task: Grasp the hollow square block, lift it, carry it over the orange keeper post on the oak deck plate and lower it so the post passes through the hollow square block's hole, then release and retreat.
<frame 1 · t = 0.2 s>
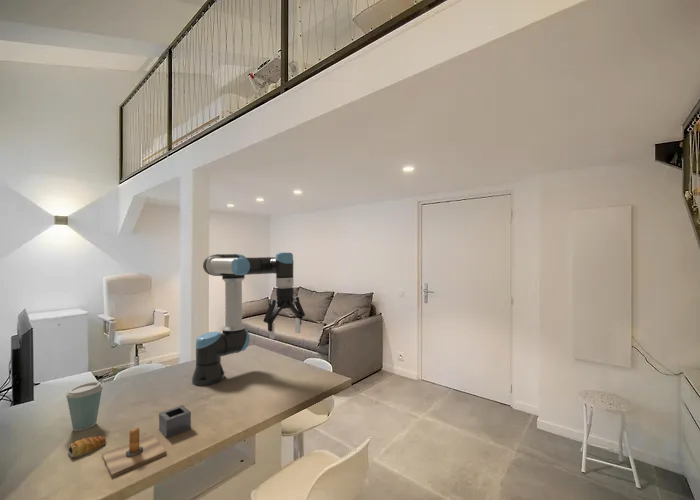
hand: (285, 335, 136), 28 cm above the table, fingers open, 13 cm apart
pastry: (85, 451, 101), on the table
disposable coffee cup: (84, 427, 115), on the table
hollow square block: (175, 429, 113), on the table
keeper: (134, 455, 98), on the table
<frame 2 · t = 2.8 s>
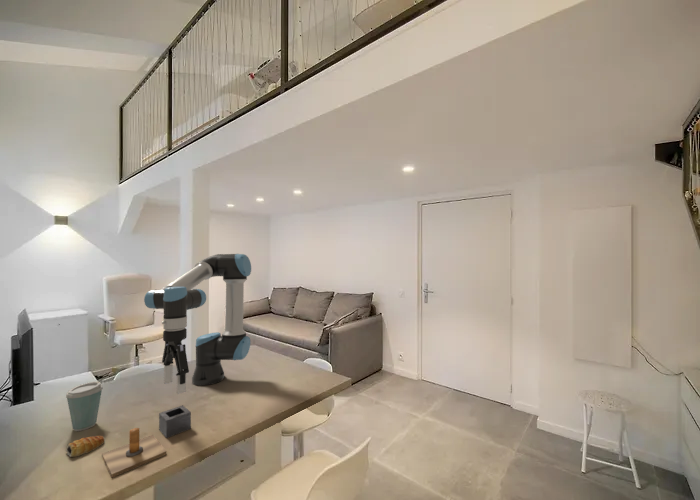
hand: (174, 387, 113), 15 cm above the table, fingers open, 13 cm apart
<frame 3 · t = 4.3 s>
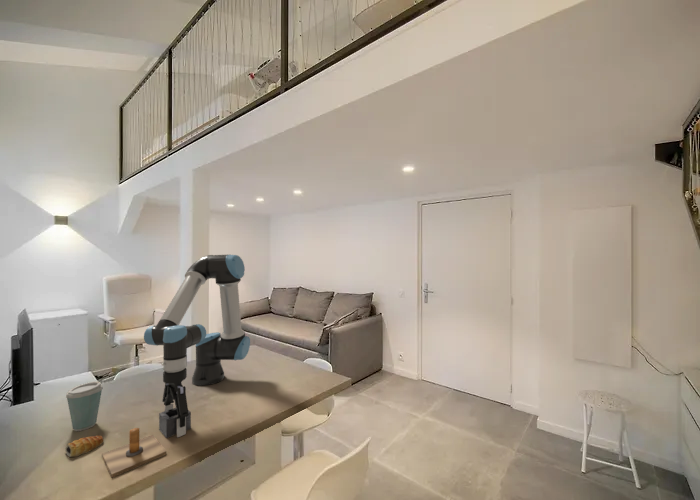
hand: (174, 428, 113), 0 cm above the table, fingers open, 12 cm apart
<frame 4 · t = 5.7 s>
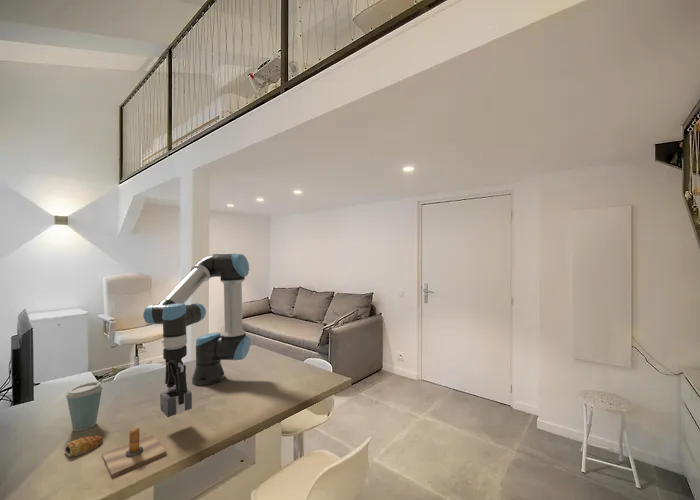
hand: (176, 408, 113), 7 cm above the table, fingers closed on hollow square block, 8 cm apart
hollow square block: (176, 409, 113), point 7 cm above the table, touching gripper
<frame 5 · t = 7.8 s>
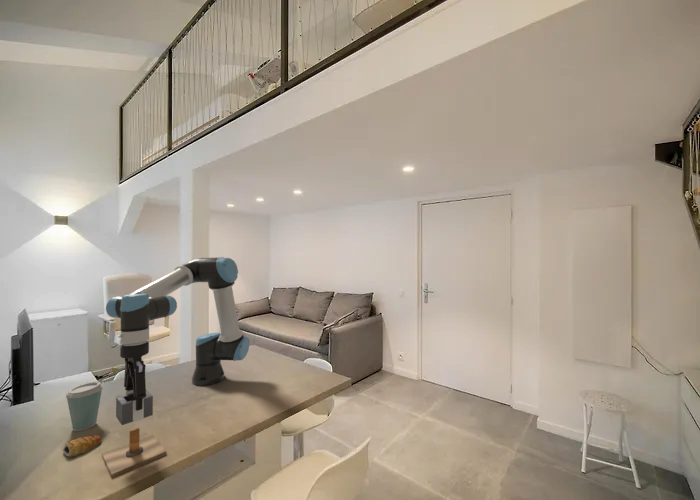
hand: (134, 414, 98), 13 cm above the table, fingers closed on hollow square block, 8 cm apart
hollow square block: (134, 415, 98), point 12 cm above the table, touching gripper
when the fingers open (2 cm above the table, at t = 10.0 s): hollow square block stays where it is, resting on keeper.
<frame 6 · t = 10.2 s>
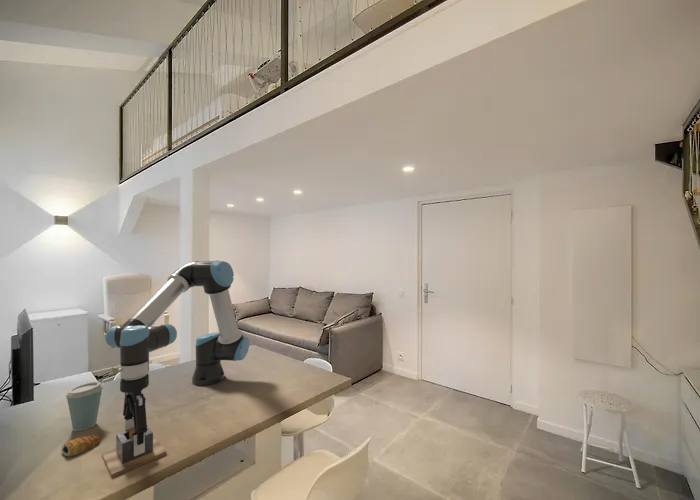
hand: (134, 446, 98), 3 cm above the table, fingers open, 10 cm apart
hollow square block: (134, 452, 98), point 1 cm above the table, touching keeper
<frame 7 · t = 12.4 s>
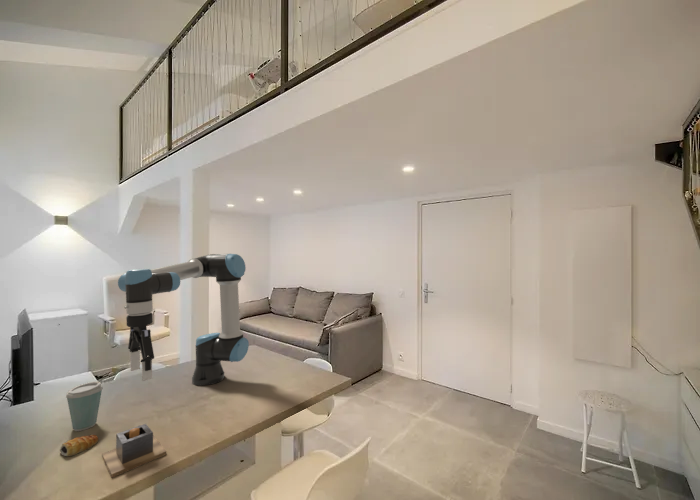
hand: (141, 374, 107), 22 cm above the table, fingers open, 13 cm apart
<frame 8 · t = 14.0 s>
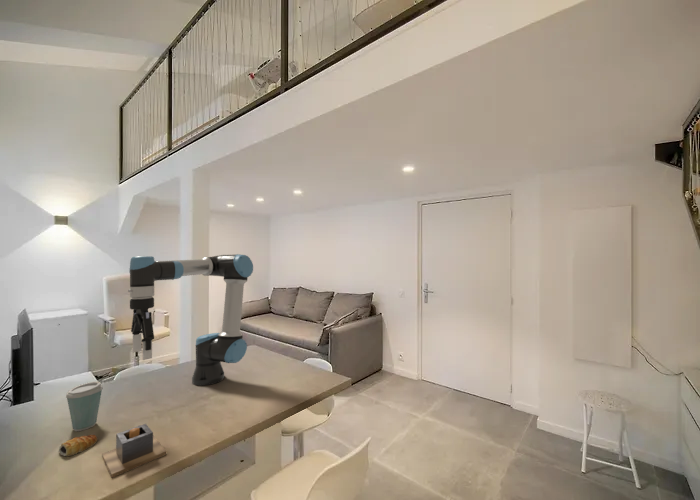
hand: (141, 355, 114), 27 cm above the table, fingers open, 13 cm apart
at the end: hollow square block 0.1 cm off-centre on the keeper, point 1.0 cm above the keeper's base; the gripper is holding nothing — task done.
